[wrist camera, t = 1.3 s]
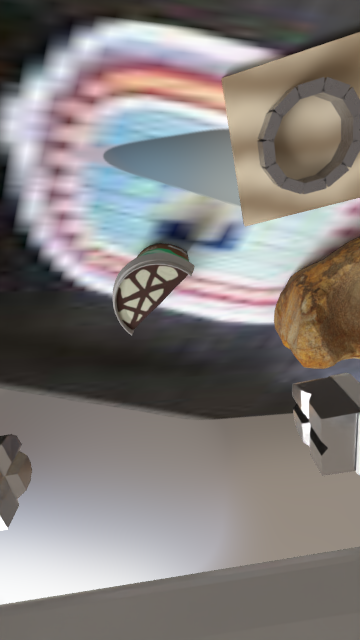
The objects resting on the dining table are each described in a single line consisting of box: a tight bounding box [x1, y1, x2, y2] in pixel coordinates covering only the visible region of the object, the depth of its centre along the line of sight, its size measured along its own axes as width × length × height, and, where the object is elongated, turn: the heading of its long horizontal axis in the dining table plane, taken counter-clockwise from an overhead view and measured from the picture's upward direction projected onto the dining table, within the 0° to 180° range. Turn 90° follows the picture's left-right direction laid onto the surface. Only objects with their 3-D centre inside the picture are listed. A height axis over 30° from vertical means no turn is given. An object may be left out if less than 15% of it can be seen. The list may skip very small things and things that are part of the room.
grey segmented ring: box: [257, 77, 360, 194], centre depth 34 cm, size 10×10×3 cm
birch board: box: [221, 32, 360, 226], centre depth 35 cm, size 16×16×1 cm
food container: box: [113, 243, 195, 335], centre depth 40 cm, size 12×6×10 cm, turn 138°
